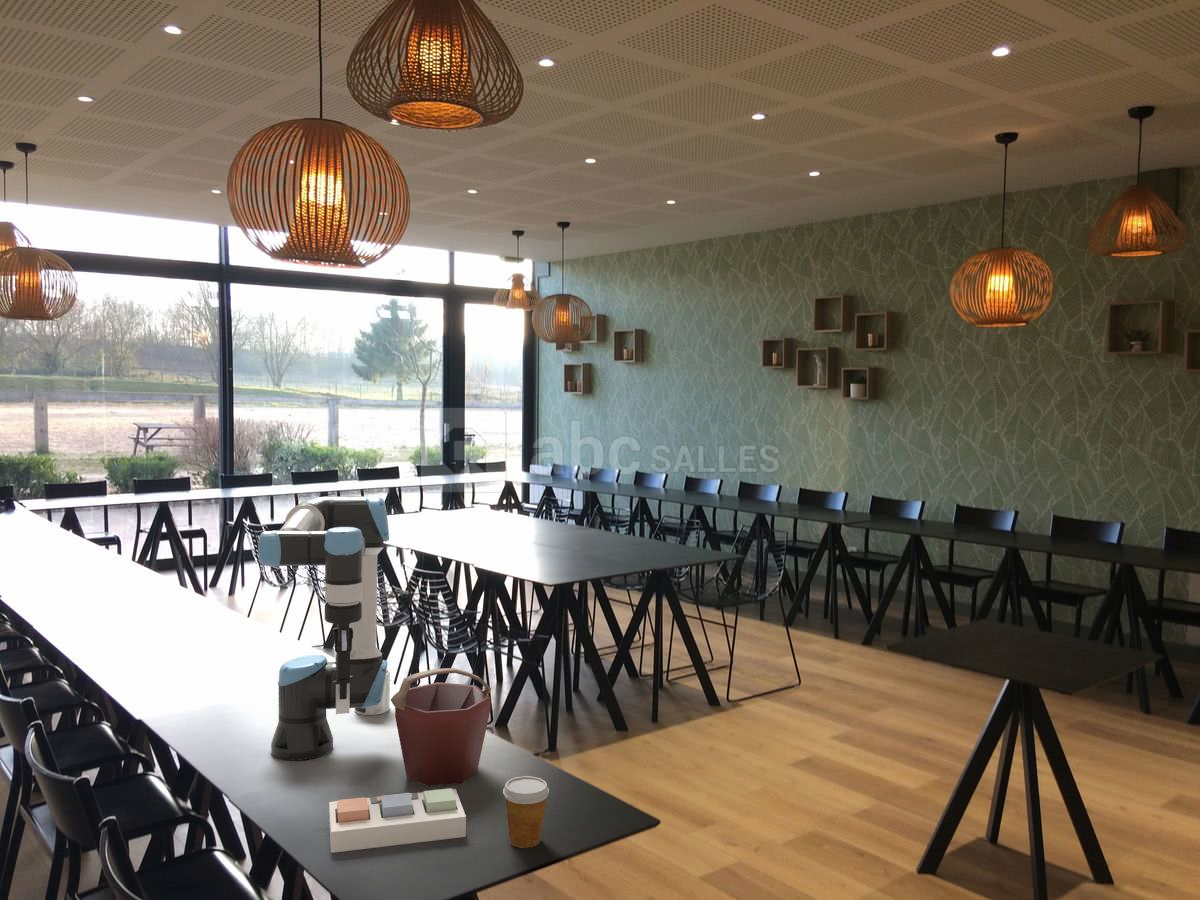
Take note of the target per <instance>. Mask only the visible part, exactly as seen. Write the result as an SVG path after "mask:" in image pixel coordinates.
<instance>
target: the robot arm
mask: <svg viewBox="0 0 1200 900" xmlns="http://www.w3.org/2000/svg"><path fill="white" fill-rule="evenodd" d="M385 502H386V501H385V500H384V499H383V498H382V497H379V496H370V495H361V496H359V495H358V496H352V495H351V496H350V495H349V496H347V495H346V496H343V495H342V496H341V495H340V496H338V495H337V496H335V495H334V496H333V495H332V496H330V495H329V496H328V495H326V496H319V497H315V498H311V499H308V500H305V501H303V502H301V503H299V504H297V505H295V506H294V507H292V508H291V509H290V510H289V511H288V513H287V515H286V516H285V519H284V524H283V525H282V527H281V528H280V529H279V530H270V531H269V530H268V531H263V532H261V533H260V534H259V538H258V541H257V542H258V545H257V555H258V562H259V563H260V565H262V566H264V567H265V566H266V567H275V568H277V567H284V566H285V567H290V566H294V567H295V566H299V567H300V566H301V567H303V566H311V567H312V566H314V567H315V566H316V567H317V566H324V570H325V571H324V572H325V573H324V576H325V577H324V585H325V586H322V587H321V591H322V592H324V600H325V602H326V603H325V604H324V621H325V622H326V623H329V624H331V625H332V624H336V626H337V627H335V628H333V629H332V630H333V632H332V636H333V640H334V641H333V643H334V644H333V645H334V652H335V653H336V654H335V661H329V662H328V659H327V656H325V655H322V654H321V655H319V654H310V655H303V656H300V657H296V658H293V659H290V660H288V661H286V662H284V663H283V664H282V665H281V666H280V668H279V671H278V681H277V685H278V722H277V726H276V727H275V728H276V729H275V731H274V733H273V737H272V740H271V744H270V752H271V754H272V756H274V757H275V758H277V759H280V760H284V761H285V760H286V761H303V760H311V759H315V758H319V757H323V756H325V755H327V754H328V753H330V752H331V751H332V750H333V748H334V737H333V734H332V730H331V728H330V724H329V721H328V718H327V710H335V714H336V715H341V714H343V715H344V714H350V709H355V708H366V707H376V706H378V705H379V704H380V703H381V702H382V697H383V691H384V684H385V678H386V671H387V669H388V661H387V660H385V659H383V653H382V652H381V651H380V650H379V649H378V647H377V620H378V619H377V613H378V612H377V611H378V609H377V608H378V607H377V605H378V601H377V600H378V599H377V598H378V555H379V554H380V553H381V551H382V550H383V549H384V547H385V546H384V543H386V542H388V541H390V531H389V529H390V528H389V522H388V521H389V520H388V513H387V507H386V503H385Z"/></svg>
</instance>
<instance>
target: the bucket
mask: <svg viewBox="0 0 1200 900" xmlns="http://www.w3.org/2000/svg"><path fill="white" fill-rule="evenodd" d="M442 674H443V675H444V674H458V675H461V676H465V677H468V678H471V679H473V680H476V681H479V683H480V684H481V685H483V687H484V688H483V689H481V688H480V687H479V686H477V685H475V684H474V685H473V684H462V683H450V682H441V681H439V682H434V683H428V684H424V685H420V686H414V687H411V685H412V683H415V682H417V681H419V680H422V679H425V678H429V677H432V676H435V675H442ZM491 691H492V688H491V687H490V686H489V684H488V683H486V682H485V681H484V680H483V679H482V678H481V677H479V676H478V675H476V674H473V673H471V672H469V671H466V670H462V669H458V668H455V667H449V668H448V667H447V668H446V667H445V668H434V669H428V670H425V671H421V672H418V673H417V672H416V673H413V674H411V675H409V676H407V677H404V678H403V680H402V683H401V685H400V688H399V690H398V691H397V692H396V693H395V694H394V695H393V696H392V697H390V701H391V702H390V703H392V705H393V707H394V718H395V722H396V728H397V733H398V738H399V744H400V750H401V755H402V758H403V759H402V760H403V765H404V770H405V775H406V778H407V779H408V780H411V781H413V782H417V783H418V784H422V785H424V786H425V787H426V786H427V787H434V786H435V787H436V786H446V785H447V786H448V785H458V784H459V785H460V784H462V783H464V782H465V781H466V780H468V779H470V777H472V776H474V775H475V774H476V773H478V769H479V766H480V759H481V754H482V750H483V746H484V742H485V737H486V732H487V727H488V724H489V719H490V713H491V709H492V708H491V699H492V697H491V696H490V695H489V694H490V693H491Z"/></svg>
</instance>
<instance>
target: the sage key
mask: <svg viewBox="0 0 1200 900" xmlns="http://www.w3.org/2000/svg"><path fill="white" fill-rule="evenodd" d="M452 789H453V788H451V787H449V788H441V789H431V790H424V791H423V792H424V805H425V809H426V812H427V813H433V812H442V811H451V810H456V799H455V796H454V793H453V790H452Z"/></svg>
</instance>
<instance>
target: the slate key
mask: <svg viewBox="0 0 1200 900" xmlns="http://www.w3.org/2000/svg"><path fill="white" fill-rule="evenodd" d="M410 793H411V792H403V793H394V794H393V793H392V794H384V795H380V796H381V810H382V815H383V818H388V817H397V816H406V815H413V803H412V800H411V796H410Z"/></svg>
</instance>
